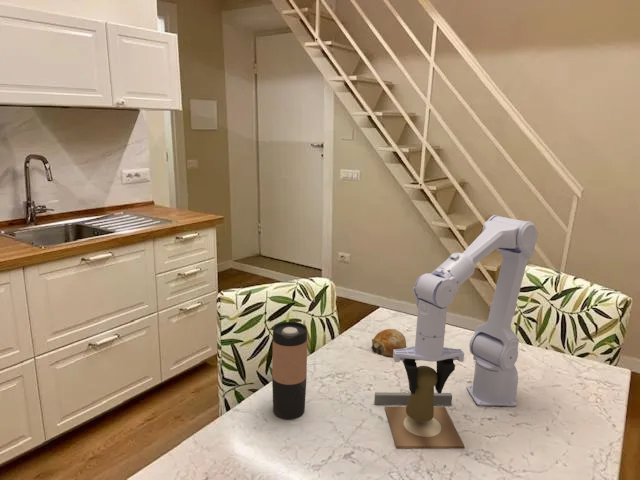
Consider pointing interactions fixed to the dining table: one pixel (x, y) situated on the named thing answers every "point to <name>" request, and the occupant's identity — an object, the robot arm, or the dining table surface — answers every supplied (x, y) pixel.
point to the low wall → (403, 398)
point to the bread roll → (388, 342)
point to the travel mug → (289, 369)
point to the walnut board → (423, 430)
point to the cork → (423, 395)
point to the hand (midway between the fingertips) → (425, 391)
